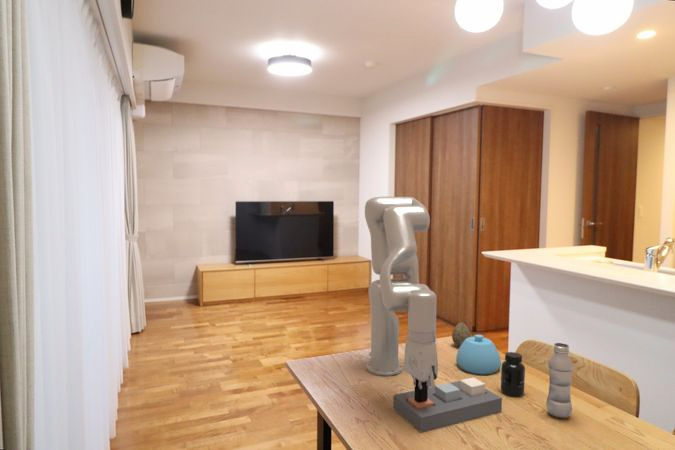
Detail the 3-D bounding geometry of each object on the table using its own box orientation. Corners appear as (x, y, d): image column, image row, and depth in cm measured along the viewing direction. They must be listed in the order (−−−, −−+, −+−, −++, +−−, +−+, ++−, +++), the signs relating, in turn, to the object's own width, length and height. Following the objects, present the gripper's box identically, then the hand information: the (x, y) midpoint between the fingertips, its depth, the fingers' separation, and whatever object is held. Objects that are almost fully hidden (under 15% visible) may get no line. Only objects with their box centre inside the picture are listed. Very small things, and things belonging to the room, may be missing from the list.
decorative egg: (460, 342, 186) (461, 318, 185) (474, 347, 180) (474, 323, 179) (448, 345, 182) (448, 321, 181) (461, 351, 176) (462, 326, 175)
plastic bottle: (569, 411, 128) (572, 342, 127) (573, 423, 122) (576, 350, 120) (544, 407, 130) (547, 339, 129) (547, 419, 124) (549, 347, 122)
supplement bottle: (526, 398, 136) (527, 359, 135) (502, 396, 138) (503, 357, 137) (521, 388, 143) (523, 351, 142) (499, 386, 144) (500, 349, 143)
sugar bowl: (476, 356, 170) (477, 326, 169) (509, 370, 158) (510, 337, 157) (447, 364, 163) (447, 333, 162) (479, 379, 150) (480, 345, 149)
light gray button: (434, 400, 130) (434, 385, 130) (448, 397, 132) (449, 382, 132) (445, 408, 126) (445, 392, 125) (460, 404, 128) (460, 389, 127)
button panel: (393, 408, 130) (393, 395, 130) (468, 391, 141) (468, 378, 141) (421, 432, 117) (421, 417, 117) (501, 411, 128) (501, 397, 128)
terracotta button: (407, 413, 127) (408, 398, 126) (422, 410, 129) (423, 394, 128) (418, 421, 122) (418, 406, 122) (433, 418, 124) (433, 402, 124)
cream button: (459, 394, 134) (460, 380, 133) (473, 391, 136) (473, 377, 135) (471, 402, 129) (471, 387, 129) (485, 398, 131) (485, 384, 131)
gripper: (395, 329, 129) (395, 392, 130) (426, 346, 115) (425, 415, 117) (417, 326, 132) (417, 387, 133) (450, 342, 118) (449, 410, 120)
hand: (420, 400), depth 125 cm, fingers closed
